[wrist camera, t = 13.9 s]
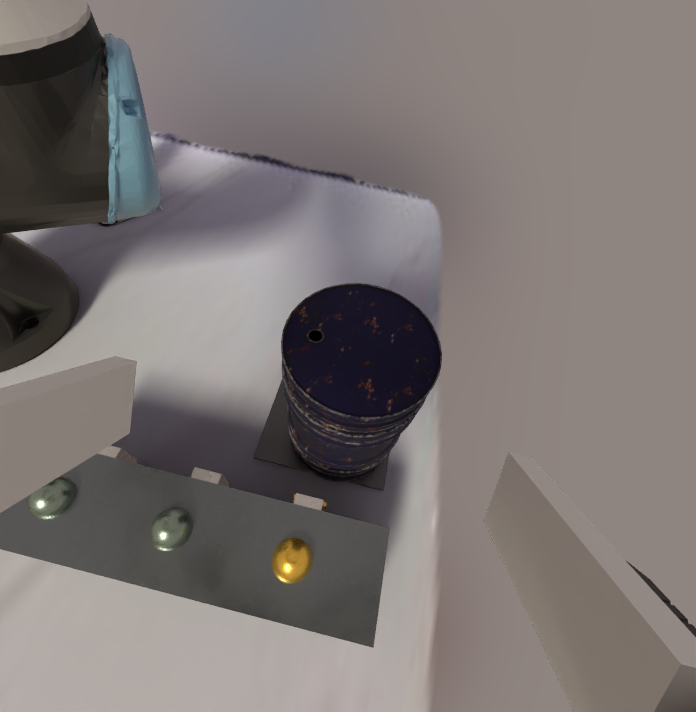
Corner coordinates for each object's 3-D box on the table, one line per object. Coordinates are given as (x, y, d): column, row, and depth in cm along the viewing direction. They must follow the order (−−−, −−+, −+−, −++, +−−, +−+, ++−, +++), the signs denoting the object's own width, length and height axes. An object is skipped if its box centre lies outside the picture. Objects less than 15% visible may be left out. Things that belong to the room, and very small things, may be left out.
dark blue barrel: (393, 391, 36) (441, 294, 23) (389, 489, 31) (448, 432, 18) (298, 377, 36) (295, 271, 23) (278, 474, 30) (259, 406, 18)
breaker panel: (22, 539, 26) (-97, 526, 18) (166, 320, 38) (131, 255, 30) (361, 628, 25) (386, 654, 18) (400, 377, 37) (425, 326, 30)
